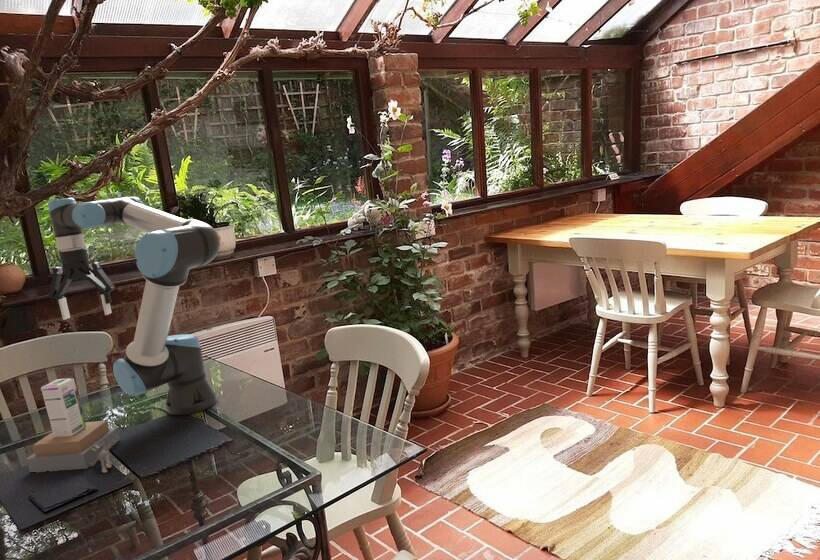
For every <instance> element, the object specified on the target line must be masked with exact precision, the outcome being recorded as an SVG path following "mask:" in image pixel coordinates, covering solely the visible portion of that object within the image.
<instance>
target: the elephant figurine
mask: <svg viewBox="0 0 820 560" xmlns="http://www.w3.org/2000/svg"><path fill="white" fill-rule="evenodd" d="M117 440H118V439H117V438H115V439H114V440H111V441H112V443H111V444H110V445H108V446H107V447H106V446H105V441H106V440H104V441H102V443H101V444H97V445H95V447H94V448H95V449H93V448H92V449H93V450H94V452H95V453H97V452H99V451H100V452H99V455H98V457H97V458H96V460H95V461H94V462H93V463H90V464H91V465H90V466H89V467H94V466H96V464H97V462H98V461H99V462H100V463H101V464H100V465H101V472H102V473H105V474H106V473H108V468H109V469H111V468H112V467H113V465H112V463H113V464H114V465H116V462H115V461H114V460H113V459H112V458H113V455H112V452H110V450H111V449H112V448H111V446H112V445H113V444H114V443H115V442H116V441H117ZM110 448H111V449H110ZM109 449H110V450H109ZM111 462H112V463H111Z"/></svg>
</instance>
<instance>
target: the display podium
mask: <svg viewBox="0 0 820 560" xmlns="http://www.w3.org/2000/svg"><path fill="white" fill-rule="evenodd" d="M108 423H109V422H108V420H99V421H87V422H86V421H85V424H86V428H84V429H82V430H81V431H79V432H77V433H76V434H74V435H73V436H69V437H54V435H53V431H51V432H50V433H49V434H47V435H46V436H44V437H43V438H41V439H40V440H39V441H36V442H35V443H34V444H33V445H32V446H33V447H32V448H33V452H34V453H33V454H31V455H29V456H28V457H27V458H26V463H27V466H28V471H29V473H30V472H36V473H47V472H46V471H49V472H60V470H61V471H70V470H81V469H88V468H89V467H90V465H91V464H90V463H93V462H94V461H95V460H96V458H97V457H98V455H99V452H100V451H99V452H97V453H95V452H94V450H93V449H95V448H94V447H95V445H97V444H101V443H102V441H104V440H106V441H105V446H106V447H107V446H108V445H110V444H111V443H112V441H111V440H114V439H115V438H117V439H118V440H119V439H120V440H121V437H120V433H119V428H118V427H112V428H111V427H109V426H110V425H109V424H108ZM92 448H93V449H92Z"/></svg>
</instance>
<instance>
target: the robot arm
mask: <svg viewBox="0 0 820 560" xmlns="http://www.w3.org/2000/svg"><path fill="white" fill-rule="evenodd" d="M47 205H48V215H49V216H50V217H49V218H50V222H51V226H52V229H53V233H54V238H55V242H56V248H57V250H58V251H59V252H58V255H59V260H60V263H61V265H62V267H61V266H56V267H52V274H53V275H52V280H51V284H50V287H49V288H50V289H49V292H48V295H47V296H48V298H49V299H55V301H56V305H57V309H58V310H60V313H61V317H62V320H63V321H66V320H67V319H70V318H71V314H70V310H69V306H68V302H67V301H68V300H67V297H65V294H66V292H67V290H68V288H69V286H70V284H71V282H72V281H75V280H86V281H88V282H89V283H90V284H91V285H92V286H93V287H95V288H96V289H97V290H99V291H100V292H101V294H100V299H101V303H102V307H103V313H104V316H108V315H110V314H112V313H113V311H112V308H111V303H112V302H113V300H112V297H111V292H112V291H115V290H116V286H115V285H114V283H113V282H112V280H111V279H110V278H109V277H108V276H107V274H106V273H105V272H104V270H103V269H102V266H101V263H100V262H99V261H94V262H92V263H90V262H89V256H88V250H87V248H85V247H86V242H85V239H84V238H85V237H84V234H83V233H84V232H83V230H84V229H87V230H88V229H89V230H90V229H95V228H98V227H104V226H110V225H115V224H124V225H126V226H130V227H132V228H135V229H137V230H139V231H141V232H145V233H146V234H144V235H142V236H141V237H140V238H139V240H138V241H137V243H136V246H135V249H134V251H135V252H134V256H135V257H134V258H135V260H136V262H135V263H136V267H137V268H138V270H139V272H140V273H141V274H142V277H143V278H144V279H145V283H144V288H143V294H142V299H141V303H140V309H139V314H138V319H137V323H136V327H135V328H136V329H135V332H134V338H133V341H131V342H130V343H129V344H128V345H127V346H126V349H125V353H124V356H123V358H118V359H117V360H115V361H114V362H113V364H112V365H113V366H112V368H113V369H112V370H113V375H114V378H115V380H116V383H117V384H118V386H119V387H120V389H121V390H122V391H123V392H124V393H125V394H127V395H128V396H131V397H133V396H139V395H142V394H146V393H147V392H149V391H152V390H154V389H156V388H158V387H161V386H163V385H167V394H166V401H165V408H166V413H167V414H169V415H172V416H184V415H190V414H194V413H199V412H201V411H204V410H206V409H208V408H210V407H212V406H213V405H215V404H216V402H217V401H218V400H217V395H216V394H217V393H216V392H215V390H214V389H213V387H212V385H211V384H210V382H209V380H208V378H207V375H206V369H205V365H204V358H203V354H202V349H201V348H202V346H201V343H200V340H199V338H198V336H197V335H195V334H189V333H188V334H187V333H186V334H174V335H173V334H172V335H169V333H170V332H169V331H170V327H171V323H172V319H173V315H174V311H175V307H176V301H177V298H178V293H179V290H180V286H183V285H184V284H186V282H187V281H188V277H189V272H190V270H191V269H194V268H198V267H202V266H205V265H207V264H209V263H211V262H212V261H213V260H214V259H215V258H216V257H217V255H218V253H219V251H220V248H221V240H220V236H219V234H218V232H217V231H216V229H215V228H214V227H213V226H211V225H210V224H209V223H207V222H204V221H201V220H198V219H194V218H190V219H186V218H183V217H179V216H176V215H174V214H171V213H168V212H166V211H162V210H159V209H156V208H153V207H151V206H148V205H145V204H144V202H143V201H142V200H141V198H140V197H137V196H123V197H117V198H111V199H101V200H96V201H95V200H94V201H86V202H85V201H83V202H79V203H77V201H76V199H75V198H74V197H67V198H65V197H64V198H57V199H51V200H49V201H48V203H47ZM91 270H92V271H93V272H91ZM63 273H64V274H65V275H64V277H63V279H62V274H63ZM95 275H96V276H95ZM61 280H62V283H61ZM60 283H61V284H60Z"/></svg>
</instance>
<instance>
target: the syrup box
mask: <svg viewBox="0 0 820 560" xmlns="http://www.w3.org/2000/svg"><path fill="white" fill-rule="evenodd" d="M40 390H41V392H42V393H41V394H42V396H43V401H44V404H45V408H46V412H47V416H48V419H49V422H50V427H51V430H52V431H51V432H53V435H54V437H69V436H73V435H74V434H76V433H77V432H79V431H81V430H82V429H84V428H86V424H85V422H86V421H85V417H84V413H83V410H82V406H81V401H80V397H79V394H78V390H77V387H76V382H75V379H74V378H73V377H64V378H59V379H55V380H53V381H51V382H49V383H47V384H45V385H43V386H41V387H40Z"/></svg>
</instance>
